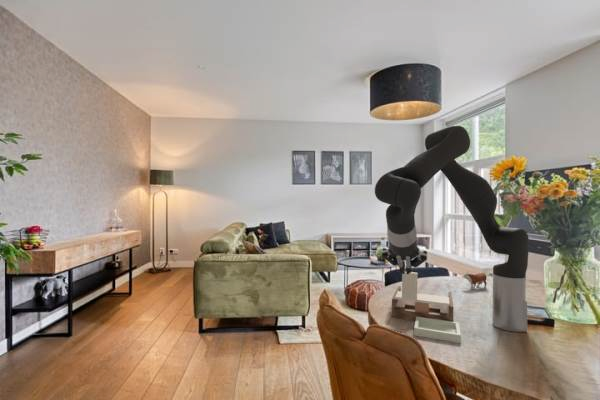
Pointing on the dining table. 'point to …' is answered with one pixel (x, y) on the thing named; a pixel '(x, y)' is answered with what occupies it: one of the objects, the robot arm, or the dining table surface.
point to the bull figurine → (475, 279)
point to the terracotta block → (422, 307)
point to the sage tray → (437, 329)
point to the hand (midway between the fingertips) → (405, 271)
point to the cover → (411, 293)
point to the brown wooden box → (407, 311)
